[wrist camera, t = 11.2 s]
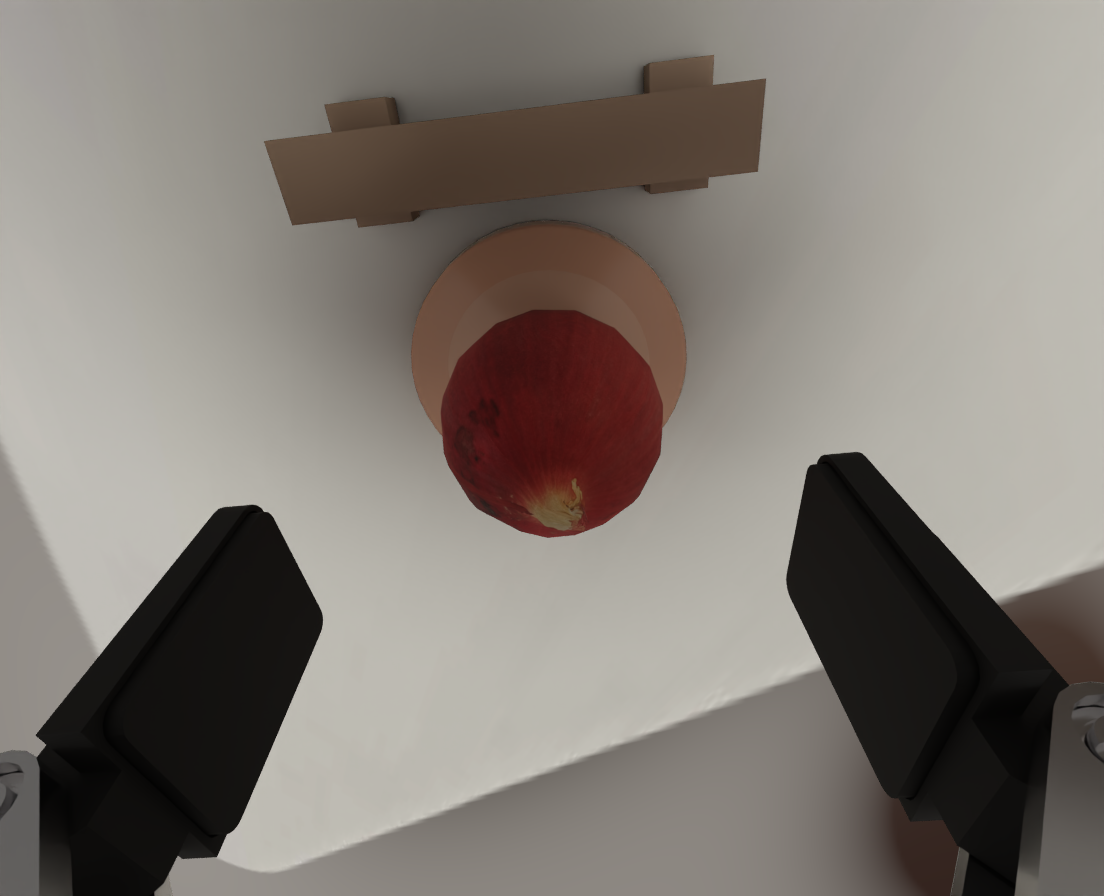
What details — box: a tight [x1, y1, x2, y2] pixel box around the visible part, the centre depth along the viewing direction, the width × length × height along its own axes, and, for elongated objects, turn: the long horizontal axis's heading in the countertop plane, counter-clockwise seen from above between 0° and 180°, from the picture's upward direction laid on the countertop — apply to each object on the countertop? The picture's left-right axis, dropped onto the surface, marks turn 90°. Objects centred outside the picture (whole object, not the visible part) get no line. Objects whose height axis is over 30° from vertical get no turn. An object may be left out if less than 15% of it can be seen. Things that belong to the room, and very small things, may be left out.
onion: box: [441, 310, 663, 538], centre depth 14 cm, size 6×6×8 cm
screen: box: [264, 55, 766, 228], centre depth 13 cm, size 3×10×5 cm, turn 96°
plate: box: [411, 220, 686, 435], centre depth 18 cm, size 9×9×1 cm
